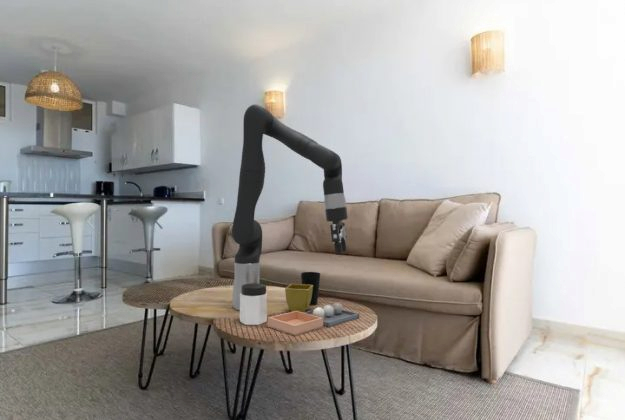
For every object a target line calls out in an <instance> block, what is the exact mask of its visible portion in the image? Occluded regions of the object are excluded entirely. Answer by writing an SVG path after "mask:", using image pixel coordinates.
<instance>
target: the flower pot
mask: <svg viewBox="0 0 625 420" xmlns="http://www.w3.org/2000/svg"><path fill="white" fill-rule="evenodd" d="M312 290H313V285H304V284H302V283H290V284H289V285H288V286H286V287H285V289H284V291H285V301H286V304H287V307H288V309H289V312H293V311H299V312H306V311H308V308H309V306H310V305H309V304H310V302H311V298H312Z"/></svg>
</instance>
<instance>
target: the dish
mask: <svg viewBox="0 0 625 420" xmlns="http://www.w3.org/2000/svg"><path fill="white" fill-rule="evenodd" d="M267 327H268V328H270V329H273V330H276V331H279V332H281V333H285V334H287V335H290V336H294V337H296V336H299V335H303V334H307V333H310V332H312V331H316V330H319V328H320V329H323V328H324V326H323V318H321V317H318V316H314V315H310V314H307V313H303V312H299V311H293V312H292V311H289V312H286V313H281V314H277V315H273V316H272V315H271V316H267Z"/></svg>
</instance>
